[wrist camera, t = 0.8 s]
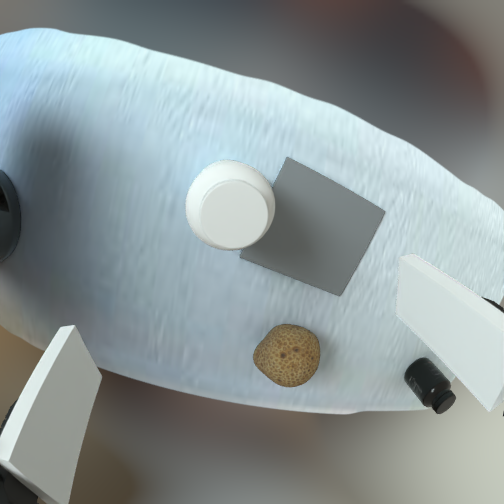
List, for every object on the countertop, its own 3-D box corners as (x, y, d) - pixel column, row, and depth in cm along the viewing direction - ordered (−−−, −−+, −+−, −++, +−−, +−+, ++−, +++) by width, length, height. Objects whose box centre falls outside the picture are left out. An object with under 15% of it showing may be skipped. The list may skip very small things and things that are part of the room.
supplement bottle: (416, 382, 54) (443, 418, 43) (397, 380, 52) (425, 419, 41) (434, 358, 52) (465, 392, 41) (416, 354, 50) (448, 391, 39)
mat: (239, 256, 39) (240, 257, 39) (286, 156, 36) (287, 157, 35) (338, 295, 43) (339, 296, 43) (383, 210, 40) (385, 211, 39)
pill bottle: (250, 152, 35) (274, 153, 21) (264, 214, 38) (294, 254, 24) (186, 168, 35) (167, 179, 21) (202, 229, 38) (196, 279, 24)
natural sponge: (322, 327, 45) (345, 367, 35) (284, 365, 46) (299, 409, 37) (279, 298, 42) (297, 338, 33) (240, 340, 44) (247, 386, 34)
